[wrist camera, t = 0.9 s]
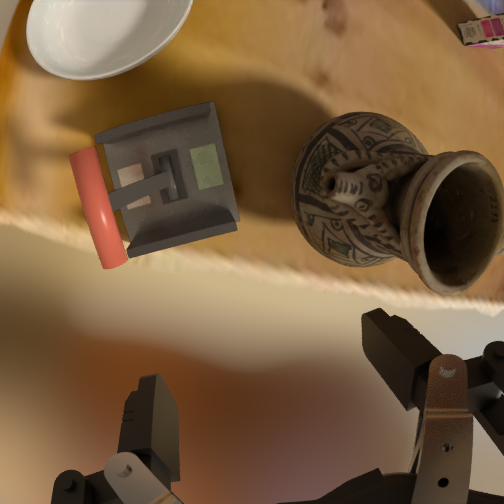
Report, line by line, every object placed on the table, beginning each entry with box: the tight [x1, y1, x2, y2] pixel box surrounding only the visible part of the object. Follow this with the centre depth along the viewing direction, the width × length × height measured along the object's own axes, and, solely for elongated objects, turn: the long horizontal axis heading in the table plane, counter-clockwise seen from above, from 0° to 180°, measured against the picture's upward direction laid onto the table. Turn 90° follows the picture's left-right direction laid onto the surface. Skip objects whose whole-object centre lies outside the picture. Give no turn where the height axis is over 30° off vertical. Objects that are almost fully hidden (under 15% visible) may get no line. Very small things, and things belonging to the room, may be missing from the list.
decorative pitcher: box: [291, 112, 504, 295], centre depth 30 cm, size 22×18×25 cm
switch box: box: [95, 102, 240, 258], centre depth 34 cm, size 14×15×8 cm
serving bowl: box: [26, 0, 193, 80], centre depth 26 cm, size 21×21×7 cm
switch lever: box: [69, 146, 179, 269], centre depth 28 cm, size 2×10×13 cm, turn 12°
